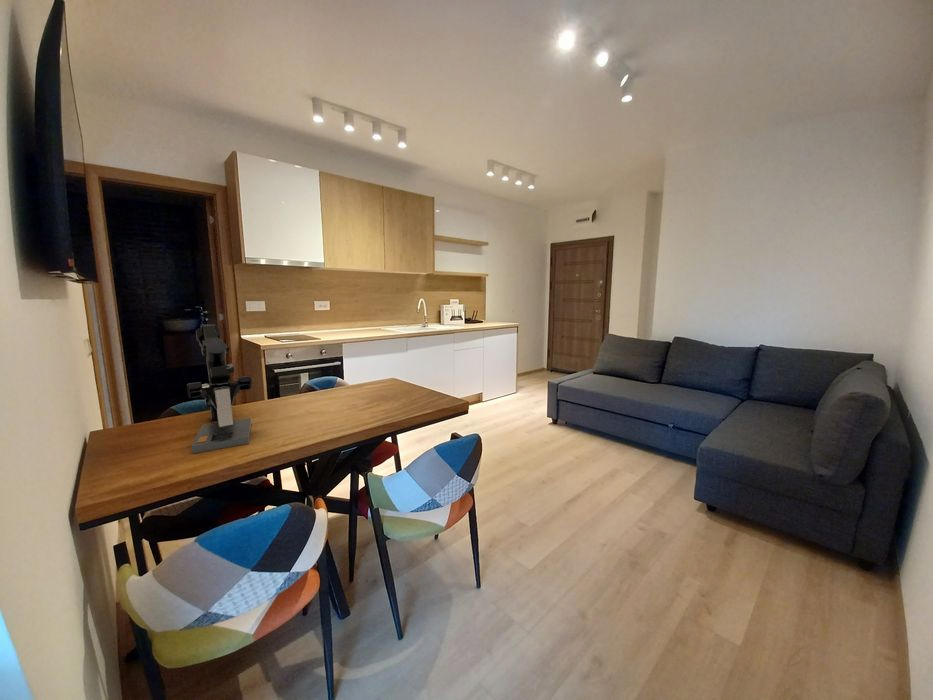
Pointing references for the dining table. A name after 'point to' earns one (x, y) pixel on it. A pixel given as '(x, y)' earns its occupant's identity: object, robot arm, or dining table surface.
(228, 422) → the steel peg
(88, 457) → the dining table surface
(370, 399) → the dining table surface
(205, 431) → the flange plate
